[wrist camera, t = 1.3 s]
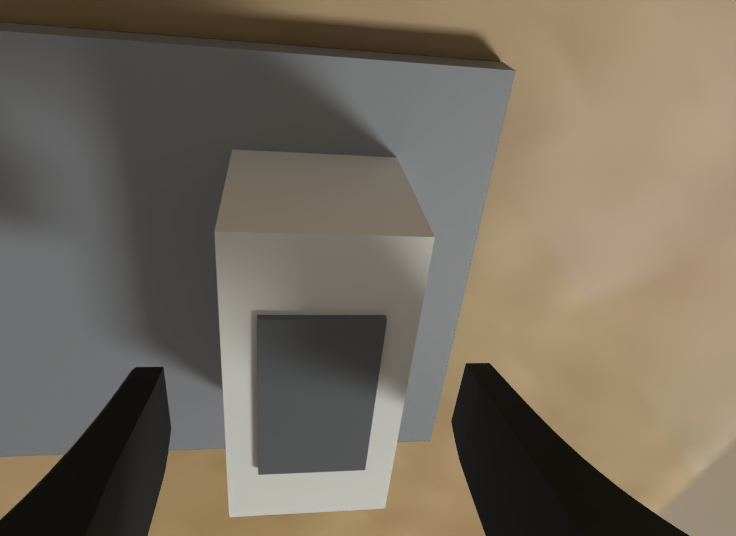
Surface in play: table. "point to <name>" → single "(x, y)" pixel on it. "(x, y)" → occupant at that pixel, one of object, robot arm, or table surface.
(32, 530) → the robot arm
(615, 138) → the table surface
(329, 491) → the block
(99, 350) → the board
